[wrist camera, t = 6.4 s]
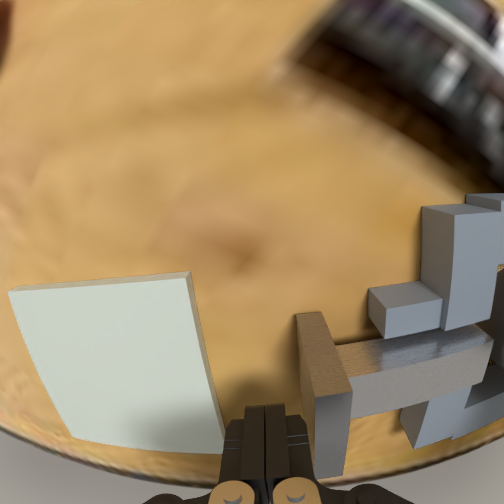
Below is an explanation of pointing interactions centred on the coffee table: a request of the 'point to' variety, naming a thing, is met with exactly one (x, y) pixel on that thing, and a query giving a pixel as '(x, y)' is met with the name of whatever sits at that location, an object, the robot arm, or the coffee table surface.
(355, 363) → the grey t-shaped block
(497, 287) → the candle holder
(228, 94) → the coffee table surface
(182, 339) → the board
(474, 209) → the socket block
